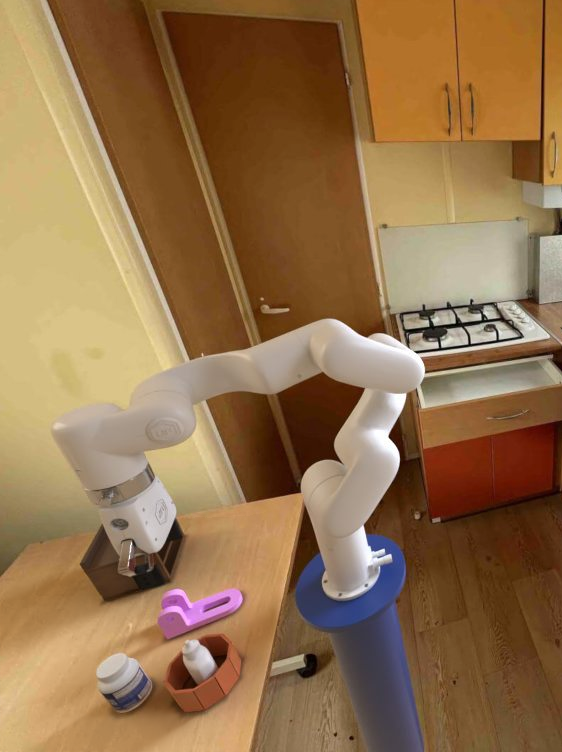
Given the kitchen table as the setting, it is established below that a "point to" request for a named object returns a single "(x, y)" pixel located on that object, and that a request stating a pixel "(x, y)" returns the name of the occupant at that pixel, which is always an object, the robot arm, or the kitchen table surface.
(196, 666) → the eye dropper bottle
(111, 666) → the pill bottle
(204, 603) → the bracket
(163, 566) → the shelf
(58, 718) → the kitchen table surface
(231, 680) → the holder cup
